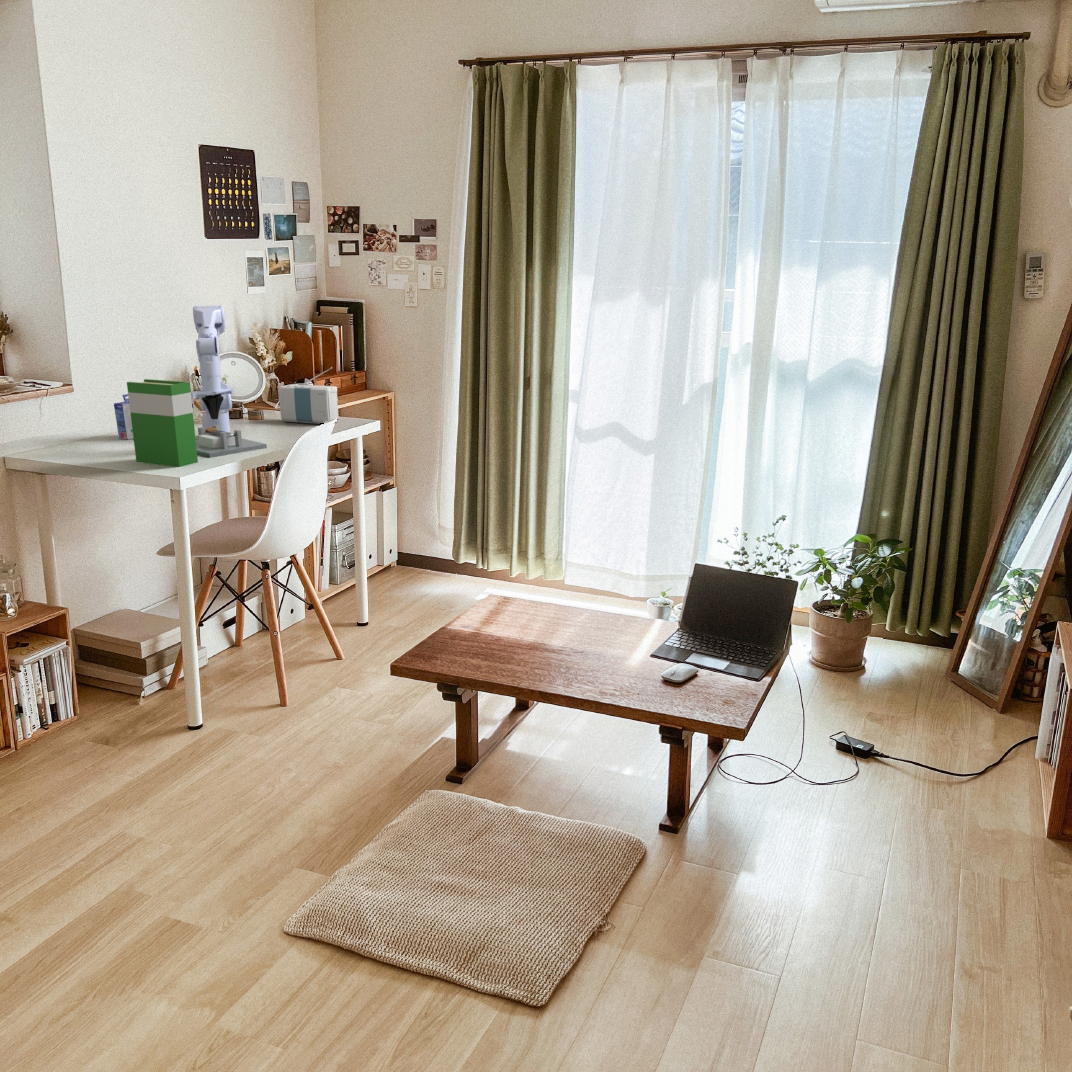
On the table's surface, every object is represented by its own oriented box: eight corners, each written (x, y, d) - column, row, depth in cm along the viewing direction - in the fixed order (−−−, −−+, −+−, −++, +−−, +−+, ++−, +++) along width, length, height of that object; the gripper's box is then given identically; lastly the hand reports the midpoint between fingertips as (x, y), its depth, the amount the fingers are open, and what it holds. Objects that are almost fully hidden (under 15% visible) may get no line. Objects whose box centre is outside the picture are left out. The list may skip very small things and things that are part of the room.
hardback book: (136, 461, 311) (126, 382, 305) (155, 457, 318) (146, 379, 311) (179, 467, 304) (170, 385, 297) (197, 462, 310) (189, 382, 303)
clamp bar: (203, 432, 333) (203, 428, 332) (212, 431, 335) (211, 427, 335) (227, 437, 323) (226, 433, 323) (236, 436, 325) (235, 431, 325)
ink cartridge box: (142, 434, 356) (137, 392, 352) (152, 435, 353) (147, 393, 349) (117, 438, 348) (111, 395, 344) (127, 440, 345) (122, 397, 341)
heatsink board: (174, 448, 331) (172, 429, 329) (230, 439, 345) (228, 420, 343) (210, 457, 316) (208, 437, 315) (266, 447, 330) (265, 428, 328)
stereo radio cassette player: (280, 422, 375) (275, 367, 370) (293, 419, 383) (289, 364, 377) (328, 426, 368) (325, 369, 362) (341, 422, 375) (338, 367, 369)
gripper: (195, 379, 318) (200, 423, 322) (237, 374, 328) (241, 417, 332) (184, 377, 322) (188, 420, 326) (225, 373, 333) (229, 414, 336)
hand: (214, 418), depth 329 cm, fingers closed
